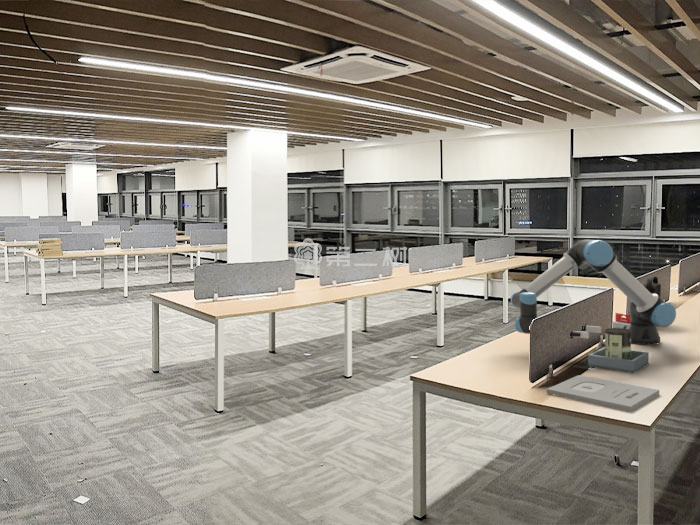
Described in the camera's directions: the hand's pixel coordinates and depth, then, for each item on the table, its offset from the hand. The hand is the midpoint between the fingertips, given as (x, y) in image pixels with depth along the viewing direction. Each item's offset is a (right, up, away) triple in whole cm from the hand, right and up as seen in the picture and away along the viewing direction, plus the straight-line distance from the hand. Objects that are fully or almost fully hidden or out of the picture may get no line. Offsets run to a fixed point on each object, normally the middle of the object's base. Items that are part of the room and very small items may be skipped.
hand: (594, 332), depth 255 cm
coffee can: (+7, -12, -6) cm, 16 cm away
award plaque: (-15, -18, -43) cm, 49 cm away
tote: (+8, -13, -6) cm, 16 cm away
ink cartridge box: (+40, -7, +60) cm, 72 cm away
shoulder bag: (+64, -5, +77) cm, 100 cm away
